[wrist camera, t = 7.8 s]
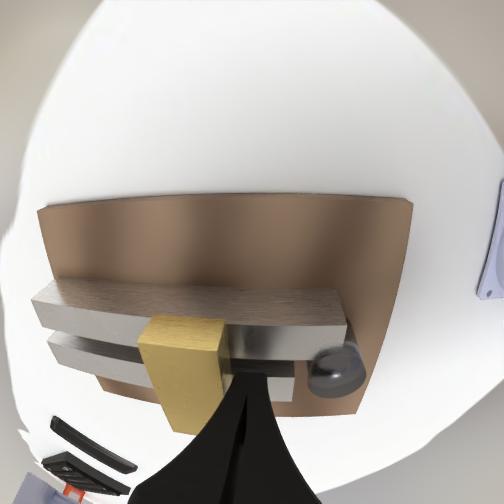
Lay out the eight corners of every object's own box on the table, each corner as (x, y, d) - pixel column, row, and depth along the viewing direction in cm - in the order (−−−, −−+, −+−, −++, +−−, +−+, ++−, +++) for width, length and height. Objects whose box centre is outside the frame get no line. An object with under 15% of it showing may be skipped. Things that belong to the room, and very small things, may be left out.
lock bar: (225, 319, 11) (216, 351, 9) (236, 412, 13) (231, 439, 11) (153, 313, 11) (136, 342, 9) (181, 405, 13) (173, 431, 12)
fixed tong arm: (362, 288, 14) (381, 331, 10) (348, 351, 15) (358, 396, 12) (58, 276, 15) (25, 303, 12) (77, 329, 17) (52, 359, 14)
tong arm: (293, 337, 15) (294, 377, 12) (291, 361, 16) (291, 401, 13) (69, 315, 16) (46, 341, 13) (79, 337, 17) (58, 363, 14)
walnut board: (405, 198, 12) (413, 203, 12) (353, 404, 19) (355, 413, 18) (46, 206, 14) (36, 211, 13) (108, 383, 21) (103, 390, 20)
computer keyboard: (68, 449, 36) (62, 462, 33) (131, 486, 40) (126, 498, 36) (43, 457, 52) (39, 465, 48) (82, 483, 55) (79, 490, 52)
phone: (52, 417, 27) (138, 470, 30) (55, 412, 28) (140, 465, 31) (49, 428, 30) (124, 474, 32) (52, 424, 31) (126, 470, 33)
